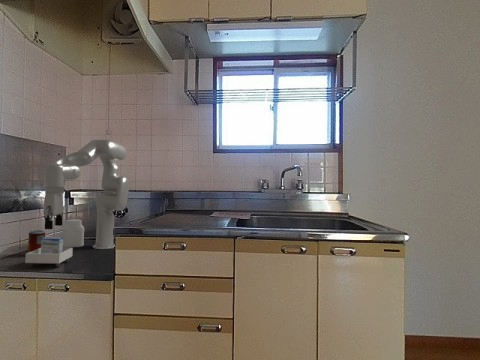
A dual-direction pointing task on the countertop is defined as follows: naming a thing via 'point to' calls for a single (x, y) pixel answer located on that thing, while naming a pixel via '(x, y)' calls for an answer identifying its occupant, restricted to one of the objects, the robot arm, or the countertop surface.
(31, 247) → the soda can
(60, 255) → the white storage bin
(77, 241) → the jar
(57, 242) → the medicine box
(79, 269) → the countertop surface
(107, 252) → the countertop surface
